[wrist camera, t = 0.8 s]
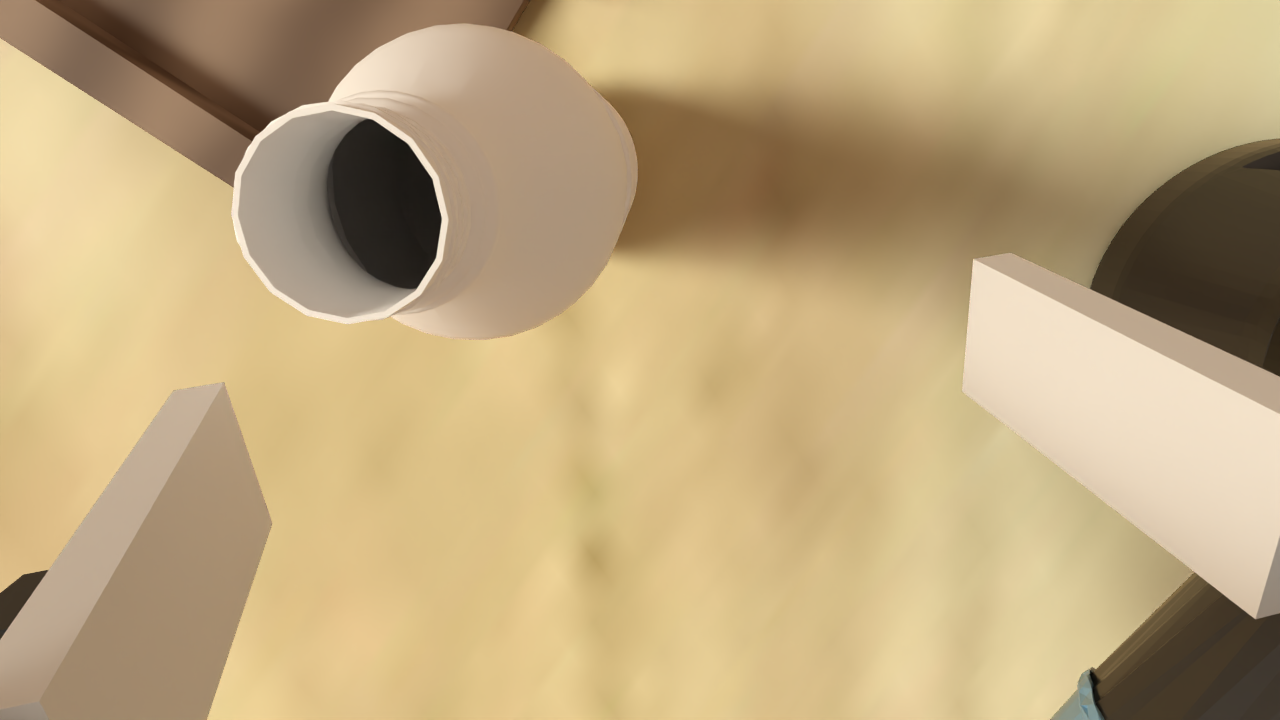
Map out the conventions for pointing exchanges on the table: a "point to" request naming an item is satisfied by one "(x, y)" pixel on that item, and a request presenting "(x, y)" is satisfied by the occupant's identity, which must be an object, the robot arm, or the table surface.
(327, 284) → the water bottle
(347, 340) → the table surface
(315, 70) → the walnut cradle
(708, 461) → the table surface
